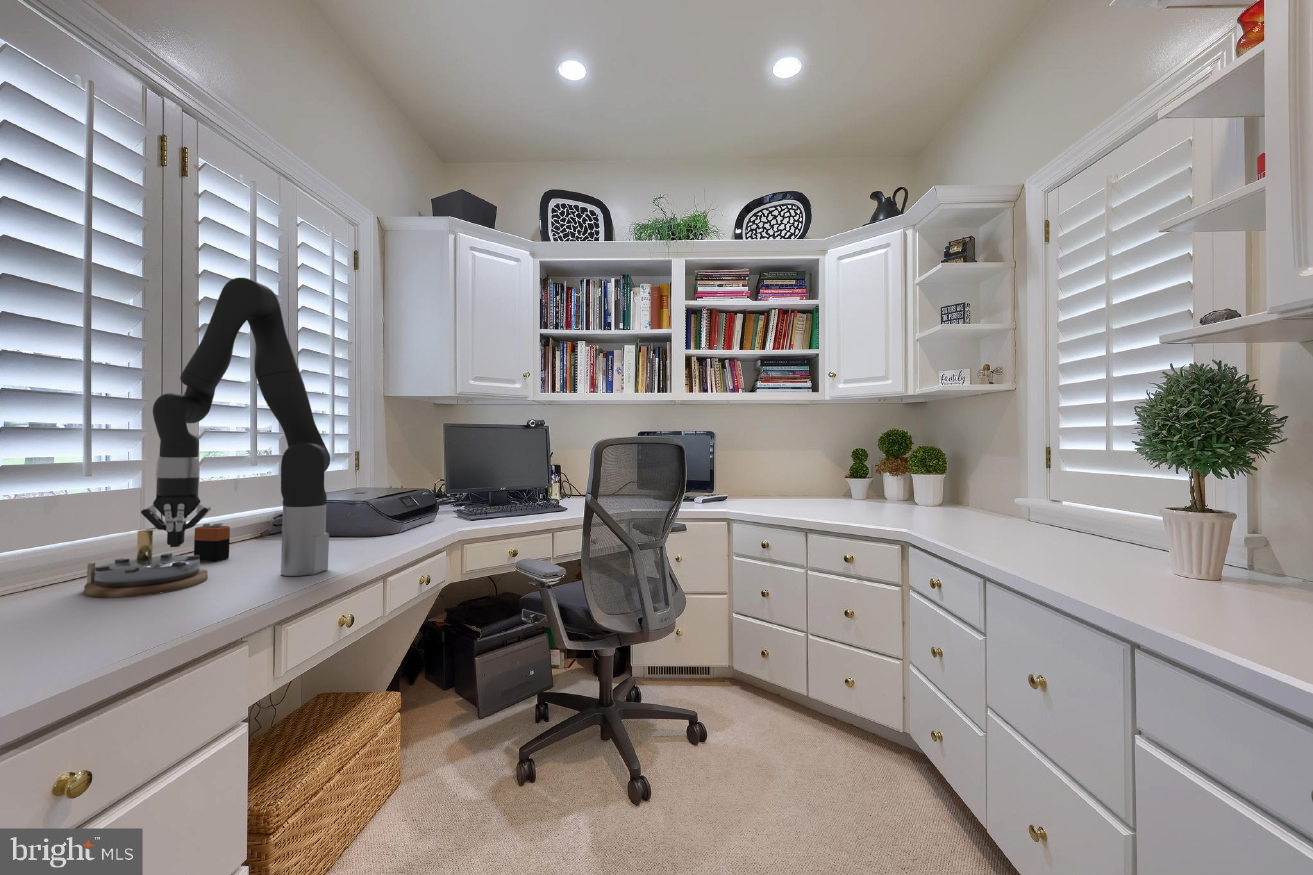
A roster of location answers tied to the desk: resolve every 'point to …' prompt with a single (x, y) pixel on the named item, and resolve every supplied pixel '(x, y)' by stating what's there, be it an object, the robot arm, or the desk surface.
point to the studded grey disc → (146, 567)
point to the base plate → (115, 592)
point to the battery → (212, 542)
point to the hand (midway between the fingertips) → (175, 546)
